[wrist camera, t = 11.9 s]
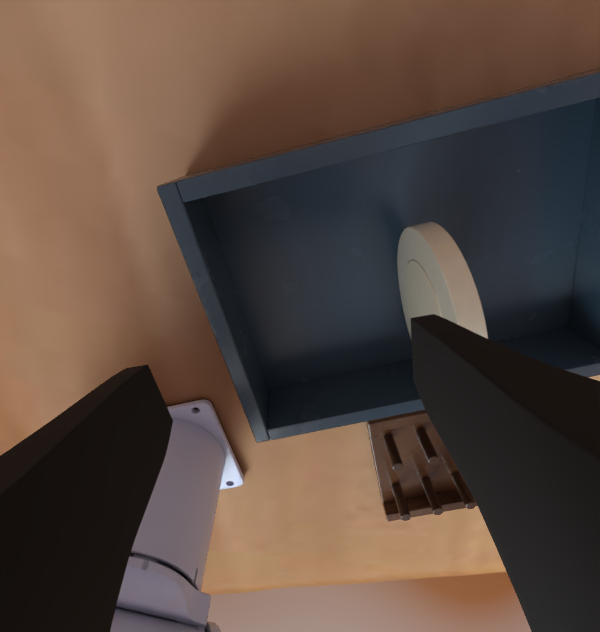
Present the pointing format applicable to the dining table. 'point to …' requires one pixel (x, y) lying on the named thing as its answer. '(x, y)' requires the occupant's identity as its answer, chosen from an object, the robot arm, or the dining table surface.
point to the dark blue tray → (396, 250)
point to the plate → (437, 278)
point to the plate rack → (415, 468)
